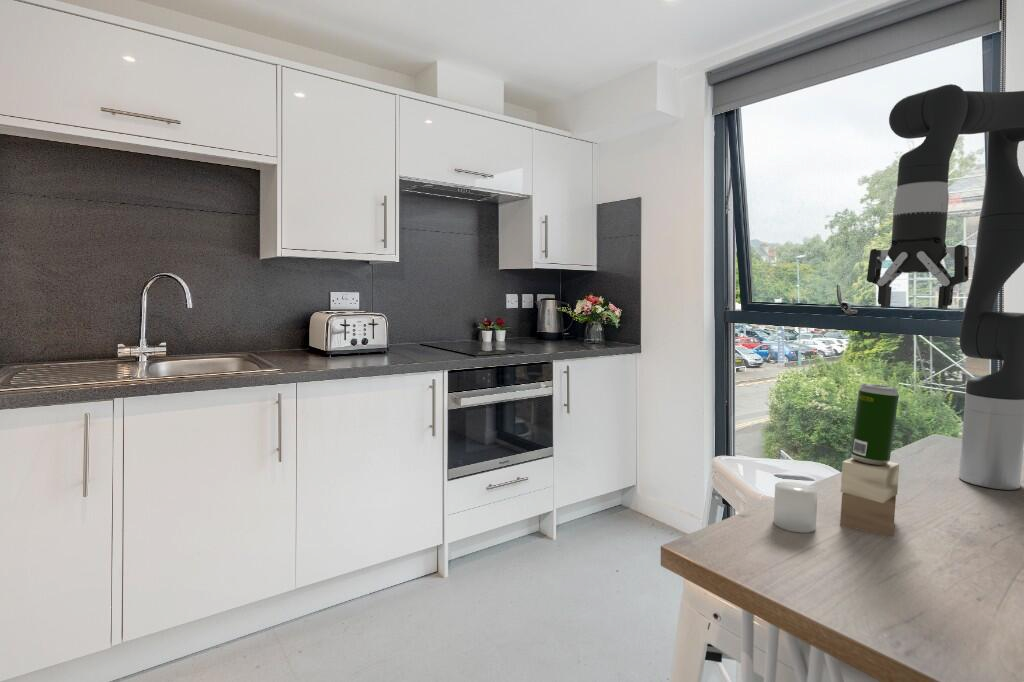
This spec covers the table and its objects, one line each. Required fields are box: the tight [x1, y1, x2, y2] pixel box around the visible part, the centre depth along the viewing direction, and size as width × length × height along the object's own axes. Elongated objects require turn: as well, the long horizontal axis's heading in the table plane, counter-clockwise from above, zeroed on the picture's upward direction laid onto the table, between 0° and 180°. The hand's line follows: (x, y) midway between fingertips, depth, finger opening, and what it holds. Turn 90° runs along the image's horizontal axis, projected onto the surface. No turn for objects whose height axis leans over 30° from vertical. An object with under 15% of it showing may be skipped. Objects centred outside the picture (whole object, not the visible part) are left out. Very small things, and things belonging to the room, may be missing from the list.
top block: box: [840, 457, 900, 503], centre depth 91 cm, size 6×6×5 cm
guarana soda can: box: [850, 383, 900, 465], centre depth 91 cm, size 5×5×12 cm
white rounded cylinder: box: [773, 481, 819, 534], centre depth 90 cm, size 6×6×6 cm
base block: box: [839, 493, 897, 537], centre depth 91 cm, size 7×7×5 cm
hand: (912, 308), depth 98 cm, fingers open, 8 cm apart
